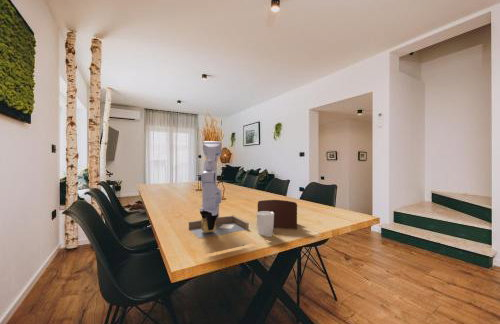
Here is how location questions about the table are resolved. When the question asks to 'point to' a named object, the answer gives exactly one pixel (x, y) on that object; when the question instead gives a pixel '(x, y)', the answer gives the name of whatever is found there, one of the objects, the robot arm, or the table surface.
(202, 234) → the arena
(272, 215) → the white cup
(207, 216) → the robot arm
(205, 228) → the ochre block
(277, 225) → the letter holder
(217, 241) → the table surface
